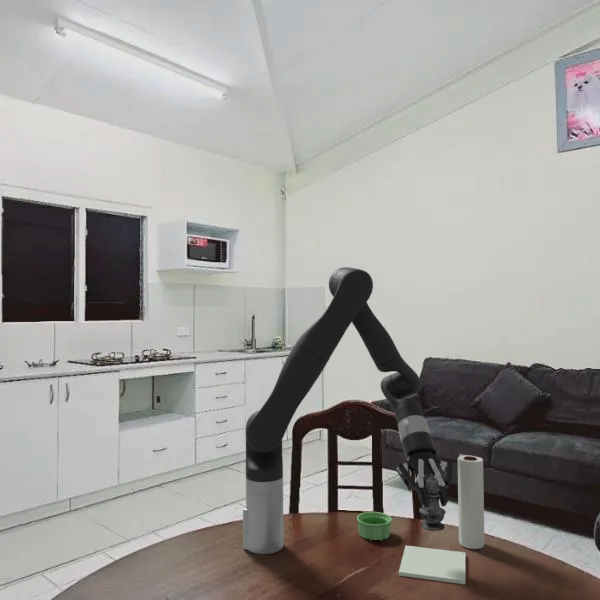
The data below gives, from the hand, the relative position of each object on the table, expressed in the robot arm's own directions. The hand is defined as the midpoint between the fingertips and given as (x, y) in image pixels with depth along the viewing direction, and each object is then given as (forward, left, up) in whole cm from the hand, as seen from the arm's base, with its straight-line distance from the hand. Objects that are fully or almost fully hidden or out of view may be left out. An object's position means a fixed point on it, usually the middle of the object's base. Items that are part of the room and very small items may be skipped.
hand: (435, 505), depth 121 cm
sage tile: (-1, +2, -14) cm, 14 cm away
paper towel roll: (+8, +16, -15) cm, 23 cm away
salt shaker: (-1, +2, -6) cm, 6 cm away
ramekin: (-17, +15, -15) cm, 27 cm away
